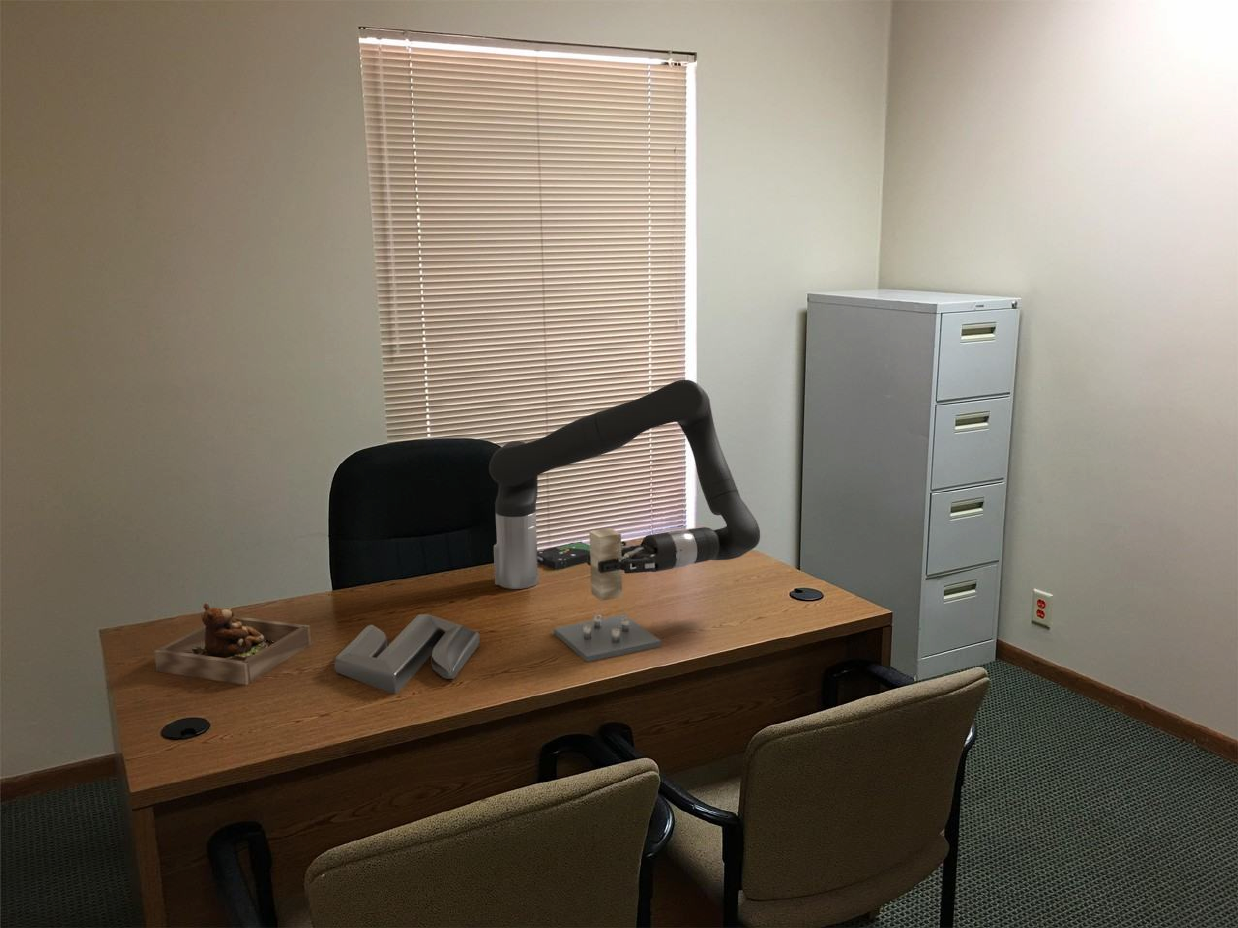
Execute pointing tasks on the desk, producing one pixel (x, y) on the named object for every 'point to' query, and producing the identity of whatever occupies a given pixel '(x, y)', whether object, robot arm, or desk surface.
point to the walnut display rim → (185, 663)
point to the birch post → (604, 548)
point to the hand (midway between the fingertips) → (593, 563)
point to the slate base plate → (606, 637)
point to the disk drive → (564, 555)
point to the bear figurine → (228, 636)
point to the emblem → (407, 652)
